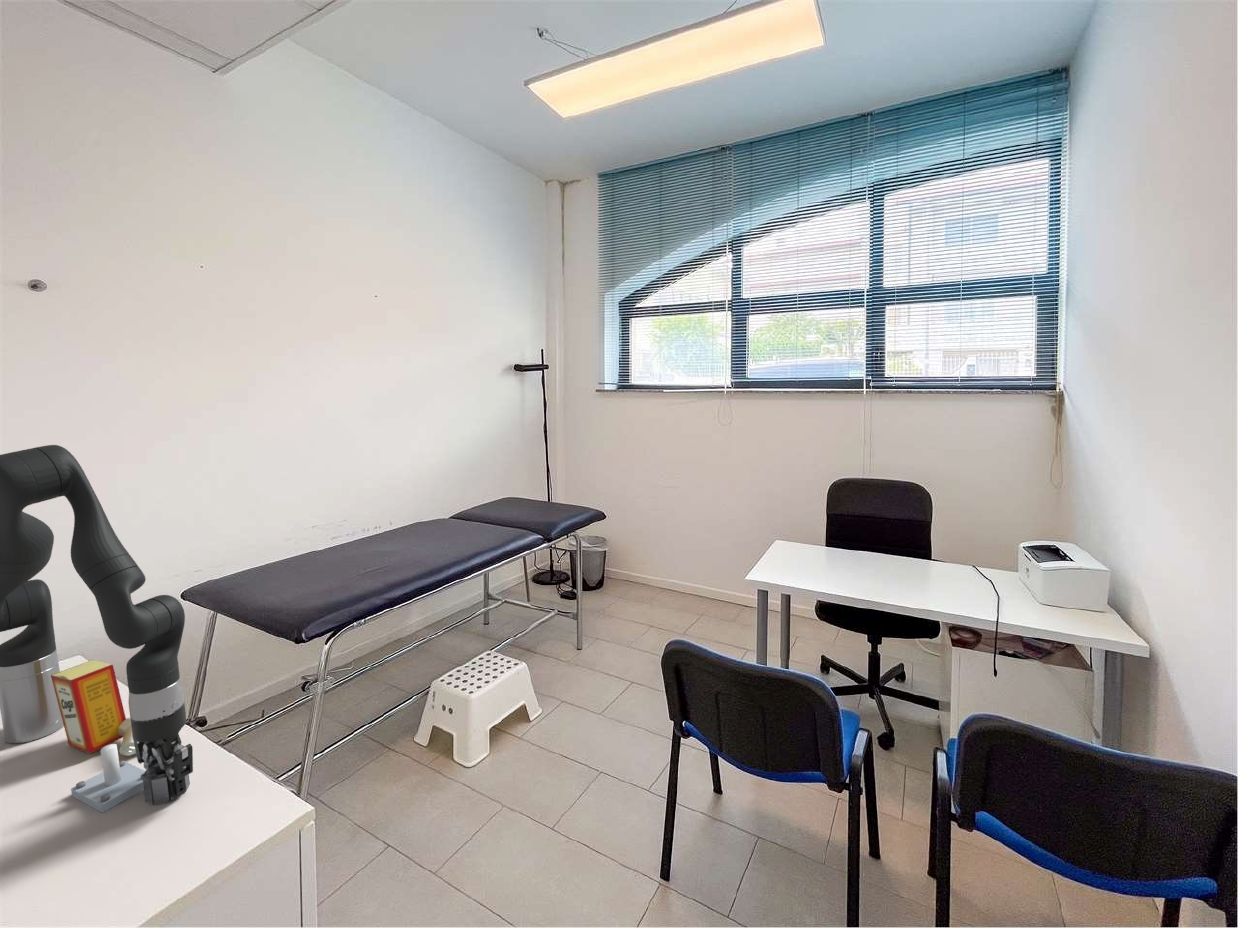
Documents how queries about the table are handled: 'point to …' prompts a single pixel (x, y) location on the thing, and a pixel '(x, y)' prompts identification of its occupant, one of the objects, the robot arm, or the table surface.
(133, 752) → the pipe fitting
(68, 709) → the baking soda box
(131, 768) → the mounting base with peg
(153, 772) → the hub
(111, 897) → the table surface
